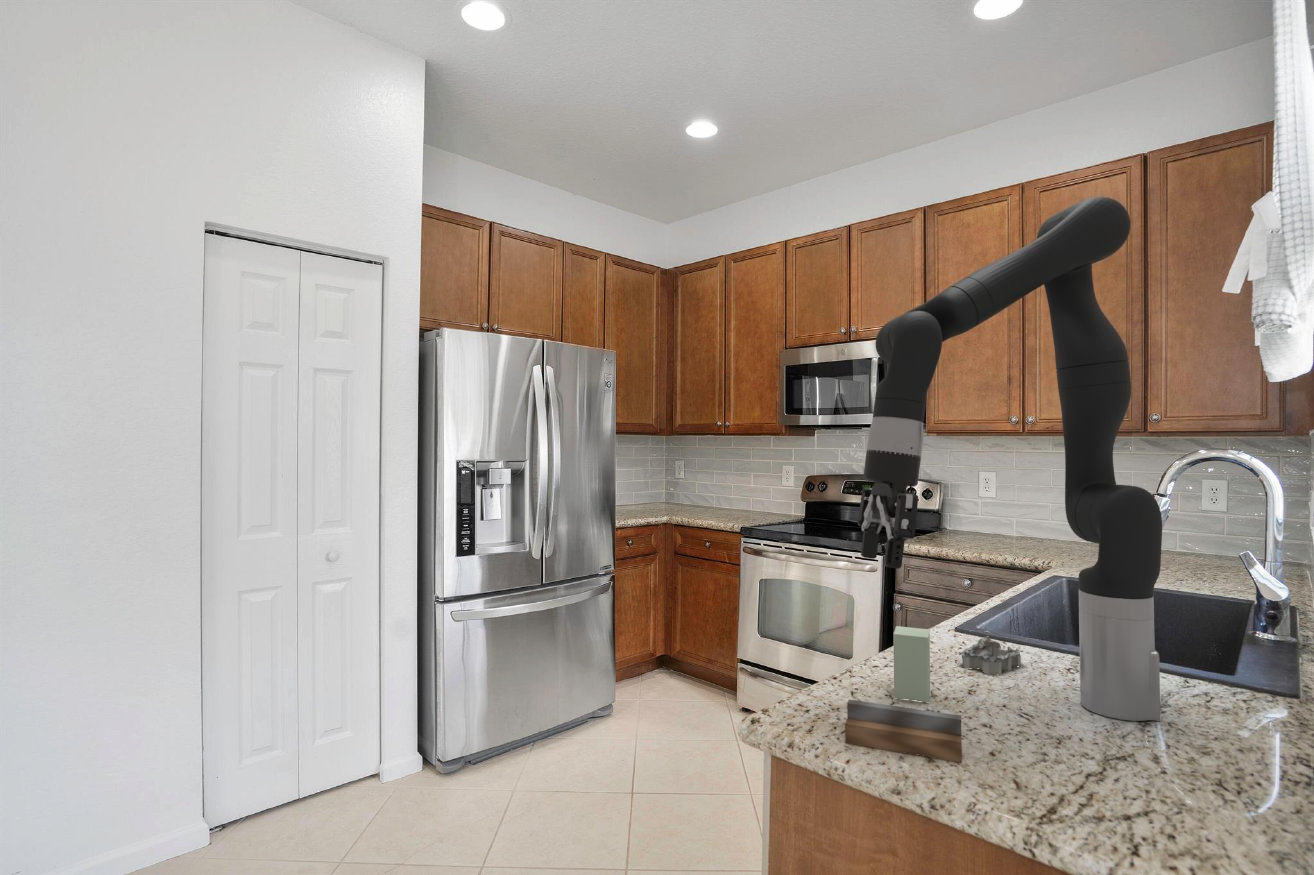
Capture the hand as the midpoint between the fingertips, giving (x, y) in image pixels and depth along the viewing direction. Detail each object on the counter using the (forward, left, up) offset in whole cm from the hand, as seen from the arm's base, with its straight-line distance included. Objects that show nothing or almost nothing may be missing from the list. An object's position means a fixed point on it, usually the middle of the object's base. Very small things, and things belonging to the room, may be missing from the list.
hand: (879, 562), depth 96 cm
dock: (-3, +5, -22) cm, 23 cm away
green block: (-3, -11, -22) cm, 25 cm away
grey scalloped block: (-16, -32, -23) cm, 43 cm away
